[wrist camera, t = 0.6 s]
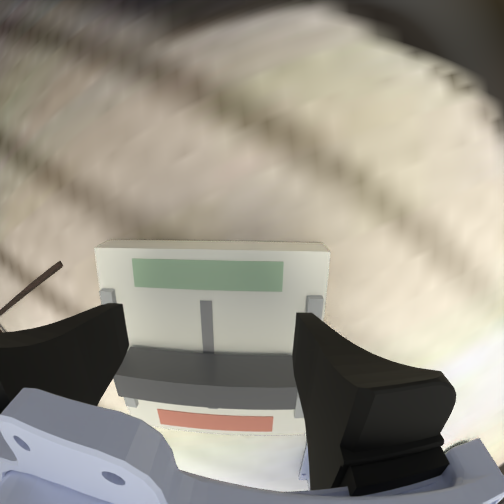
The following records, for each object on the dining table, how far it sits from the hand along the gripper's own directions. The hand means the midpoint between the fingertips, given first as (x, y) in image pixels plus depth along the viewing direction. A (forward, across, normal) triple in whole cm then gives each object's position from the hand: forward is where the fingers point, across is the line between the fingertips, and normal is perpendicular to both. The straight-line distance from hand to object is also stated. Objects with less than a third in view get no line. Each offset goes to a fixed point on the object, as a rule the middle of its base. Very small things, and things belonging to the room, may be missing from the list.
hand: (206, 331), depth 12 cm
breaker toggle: (+8, +1, +7) cm, 10 cm away
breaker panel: (+10, +1, +7) cm, 13 cm away
